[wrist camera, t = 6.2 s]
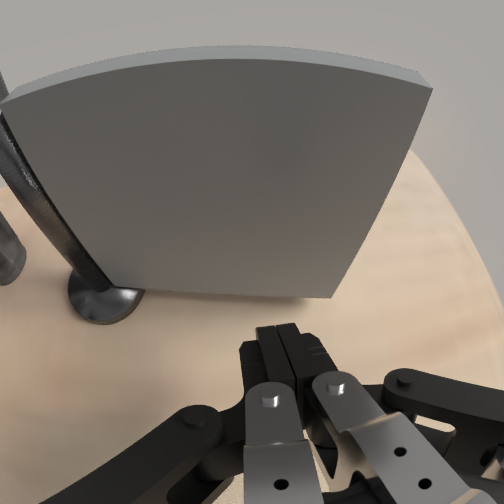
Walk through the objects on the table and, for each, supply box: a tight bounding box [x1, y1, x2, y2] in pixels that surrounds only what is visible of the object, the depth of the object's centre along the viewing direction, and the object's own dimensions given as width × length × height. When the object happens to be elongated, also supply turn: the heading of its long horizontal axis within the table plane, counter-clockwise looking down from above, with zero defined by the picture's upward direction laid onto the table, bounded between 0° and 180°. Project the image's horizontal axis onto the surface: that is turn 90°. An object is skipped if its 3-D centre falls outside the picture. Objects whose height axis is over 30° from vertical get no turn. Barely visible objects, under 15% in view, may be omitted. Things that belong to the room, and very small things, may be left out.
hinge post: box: [0, 72, 145, 325], centre depth 12 cm, size 6×6×18 cm
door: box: [0, 46, 433, 298], centre depth 13 cm, size 14×2×14 cm, turn 87°
